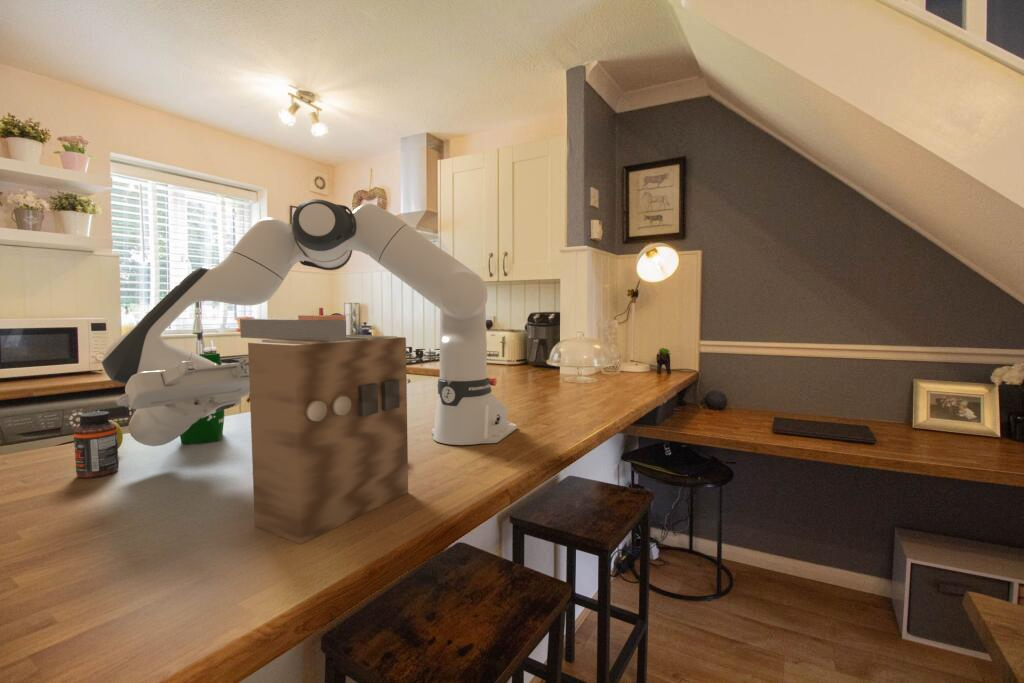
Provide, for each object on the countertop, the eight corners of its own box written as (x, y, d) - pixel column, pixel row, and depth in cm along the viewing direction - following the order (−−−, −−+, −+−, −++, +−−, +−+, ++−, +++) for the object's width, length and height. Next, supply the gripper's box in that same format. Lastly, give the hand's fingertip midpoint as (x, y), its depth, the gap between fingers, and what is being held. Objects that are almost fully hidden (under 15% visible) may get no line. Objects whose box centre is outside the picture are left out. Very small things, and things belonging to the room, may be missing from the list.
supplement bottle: (70, 475, 86) (66, 414, 85) (110, 466, 91) (106, 408, 90) (85, 481, 83) (81, 418, 82) (125, 471, 88) (122, 411, 87)
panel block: (365, 481, 83) (362, 334, 81) (412, 493, 77) (410, 335, 76) (254, 526, 66) (247, 340, 64) (305, 546, 60) (299, 343, 58)
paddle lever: (263, 336, 74) (262, 314, 74) (351, 340, 64) (350, 315, 64) (235, 337, 70) (234, 315, 70) (323, 342, 60) (323, 315, 60)
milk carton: (222, 441, 108) (218, 355, 107) (174, 446, 104) (170, 356, 103) (227, 432, 116) (224, 352, 114) (183, 437, 112) (179, 353, 111)
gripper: (107, 389, 75) (139, 349, 68) (236, 374, 93) (272, 342, 86) (117, 425, 74) (151, 388, 67) (246, 403, 91) (283, 373, 85)
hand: (220, 362), depth 77 cm, fingers open, 8 cm apart
